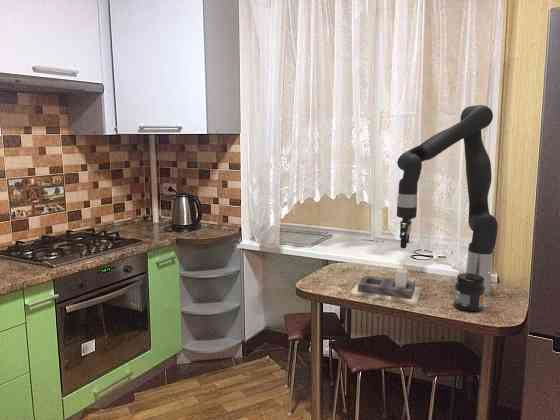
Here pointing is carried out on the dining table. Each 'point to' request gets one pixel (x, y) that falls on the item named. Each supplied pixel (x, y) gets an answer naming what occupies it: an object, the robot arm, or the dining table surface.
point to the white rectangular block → (401, 278)
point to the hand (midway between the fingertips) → (404, 245)
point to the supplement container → (469, 292)
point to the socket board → (387, 298)
